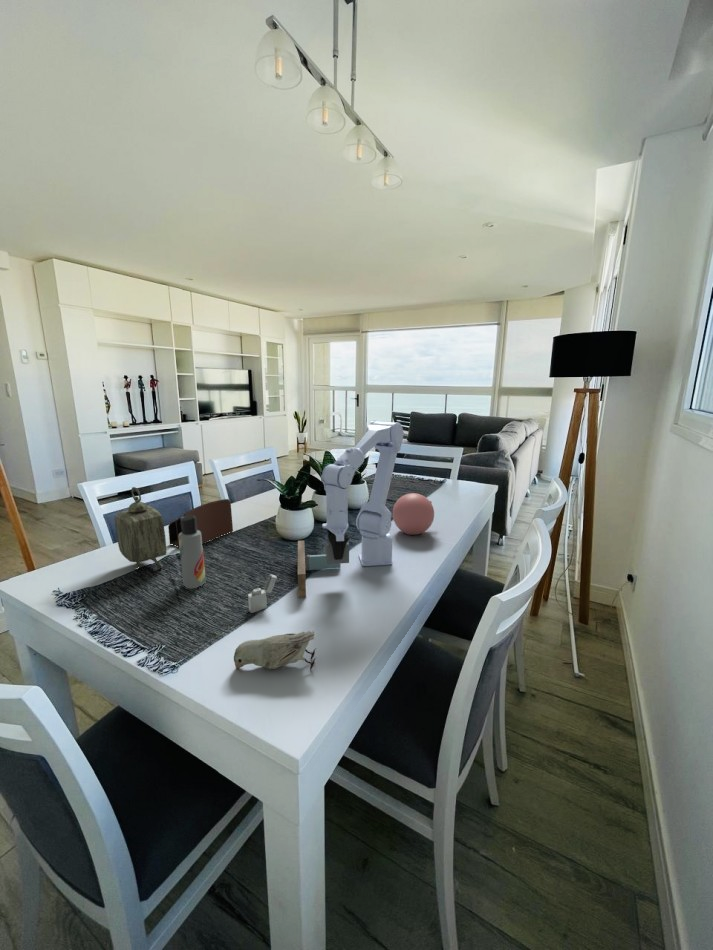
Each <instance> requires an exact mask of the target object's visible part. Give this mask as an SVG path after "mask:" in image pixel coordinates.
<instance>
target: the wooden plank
mask: <svg viewBox="0 0 713 950" xmlns="http://www.w3.org/2000/svg"><path fill="white" fill-rule="evenodd" d="M305 548H306V547H305V540H298V541H297V591H298V593H297V595H298V597H297V598H298V599H300V598H302V599H303V598H307V588H306V586H307V582H306V552H305Z"/></svg>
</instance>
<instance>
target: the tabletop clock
mask: <svg viewBox="0 0 713 950" xmlns="http://www.w3.org/2000/svg"><path fill="white" fill-rule="evenodd" d="M134 490H135V491H136V493H137V495H138V496H135V494H134ZM130 492H131V497H132V499H133V500H134V502H132V503H131V504H129V506H128V509H125V510H121V511H120V512H119V513H117V514H116V515H115V516H114V524H115V531H116V532H115V533H116V539H117V545H118V549H119V551H120V553H121V555H122V556H123V557H124V558H125V559H126V560H128V561H129V562H131V563H136V564H134V566H133V568H134V569H135V568H138V567H140V568H141V565H140V563H142V562H146V561H150V560H151V561H153V562H154V563H155V564H156V565H157V566H156V567H158V568H161V567H163V568H164V565H163V564H162V563H159V561H158V560H157V558H159V557H160V558H161V557H162V556H166V555H167V540H166V532H165V531H166V530H165V525H164V520H163V516H162V514H161V513H160V512H159V511H158V510H157V509H155V508H154V507H153V506H150V505H148V504H147V503H145V502H143V501H142V496H141V491H140V490H139V488H137V487H136V486H132V487H131V491H130ZM158 568H157V569H158Z"/></svg>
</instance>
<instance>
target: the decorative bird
mask: <svg viewBox="0 0 713 950" xmlns="http://www.w3.org/2000/svg"><path fill="white" fill-rule="evenodd" d="M315 633H316V631H315V630H312V631H311V630H308V631H301V632H299V633H285V634H278V635H277V634H276V635H272V636H269V637H266V638H262V639H250V640H244V641H243V642H241V643H240V644H239V645H237V647H236V649H235V651H234V655H233V662H234V665H235V669H236V670H239V669H240V668H242V667H244V666H247V665H251V664H253V665H254V666H258V667H262V668H264V669H265V668H266V669H269V670H276V669H279V668H280V667H283V666H287V665H290V664H294V663H297V662H298V661H304V662H305V663H306V664H310V666H309V667H310V671H312V668H313V667H314V666H315V660H316V658H317V657H315V658H314V656H315V653H316V648H314V650H313V651H308V650H307V647H308V645H309V643H310V641H312V640H314V639H315ZM305 652H306V653H307V654H310V655H311V656H310V661H308V660H307V659H306V658H305V657H304V654H305ZM313 658H314V659H313Z"/></svg>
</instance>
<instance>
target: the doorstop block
mask: <svg viewBox="0 0 713 950" xmlns="http://www.w3.org/2000/svg"><path fill="white" fill-rule="evenodd" d="M325 554H326V560H327V564H340V565H341V564H350V543H349V541H348V542H347V544H346V546H345V550H344V555H343V558H342V559H341V560H335V559H334V555H333V549H332V545H331V543H330V541H329V539H325Z"/></svg>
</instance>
